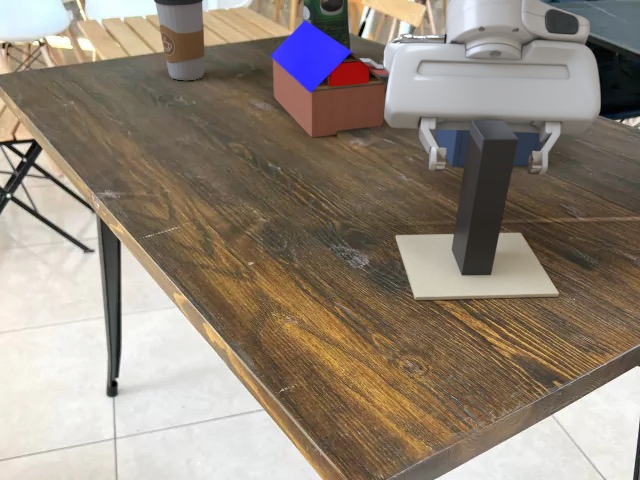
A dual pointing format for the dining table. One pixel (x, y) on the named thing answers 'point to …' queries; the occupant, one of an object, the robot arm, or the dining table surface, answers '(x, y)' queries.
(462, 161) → the box
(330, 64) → the house
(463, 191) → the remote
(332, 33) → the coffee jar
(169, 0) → the coffee cup
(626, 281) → the dining table surface
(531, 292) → the mat
